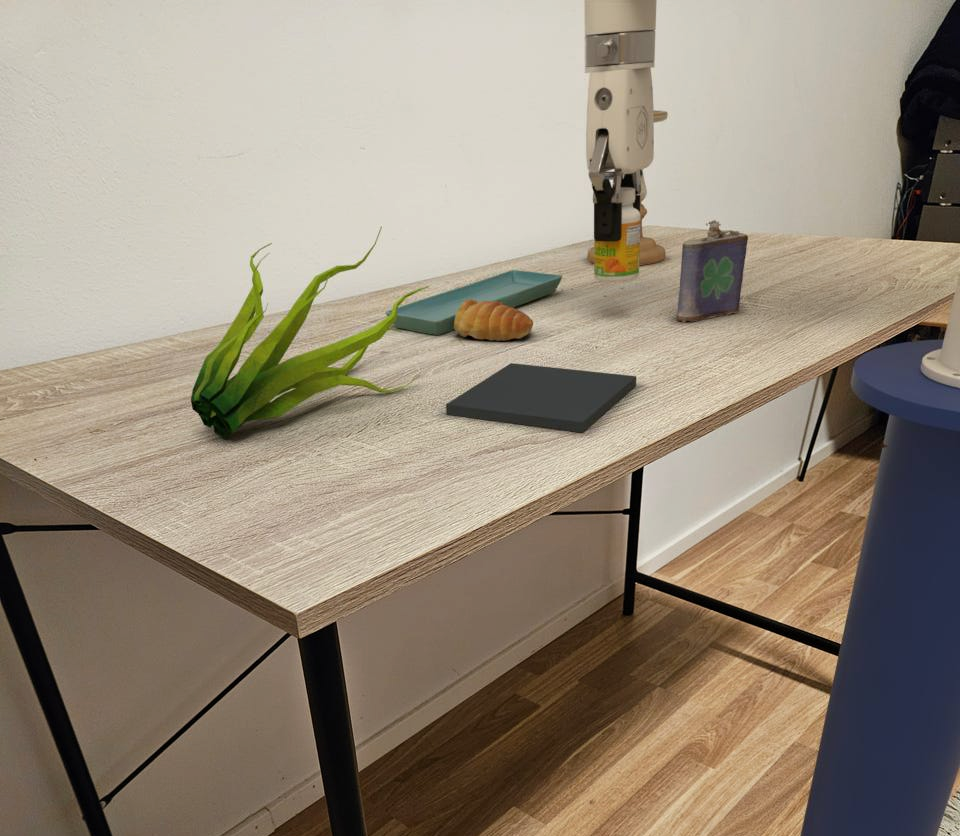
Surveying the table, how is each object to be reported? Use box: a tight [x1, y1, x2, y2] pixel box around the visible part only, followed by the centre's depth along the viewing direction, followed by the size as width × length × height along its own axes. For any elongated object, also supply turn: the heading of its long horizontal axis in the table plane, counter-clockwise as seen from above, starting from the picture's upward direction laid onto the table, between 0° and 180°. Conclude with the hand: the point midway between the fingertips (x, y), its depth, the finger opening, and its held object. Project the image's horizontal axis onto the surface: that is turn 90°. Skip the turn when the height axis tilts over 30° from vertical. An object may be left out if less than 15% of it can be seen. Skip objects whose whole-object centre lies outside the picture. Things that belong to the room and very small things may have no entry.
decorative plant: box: [190, 226, 430, 440], centre depth 88 cm, size 18×30×15 cm, turn 125°
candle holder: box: [587, 109, 669, 266], centre depth 137 cm, size 12×12×20 cm
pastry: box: [454, 299, 534, 342], centre depth 107 cm, size 9×7×4 cm
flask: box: [676, 219, 749, 323], centre depth 108 cm, size 9×3×11 cm, turn 117°
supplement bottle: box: [593, 187, 641, 283], centre depth 106 cm, size 5×5×10 cm
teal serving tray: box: [385, 269, 563, 336], centre depth 118 cm, size 26×9×2 cm, turn 140°
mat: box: [445, 362, 637, 434], centre depth 87 cm, size 14×14×1 cm
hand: (617, 234), depth 106 cm, fingers closed on supplement bottle, 5 cm apart
